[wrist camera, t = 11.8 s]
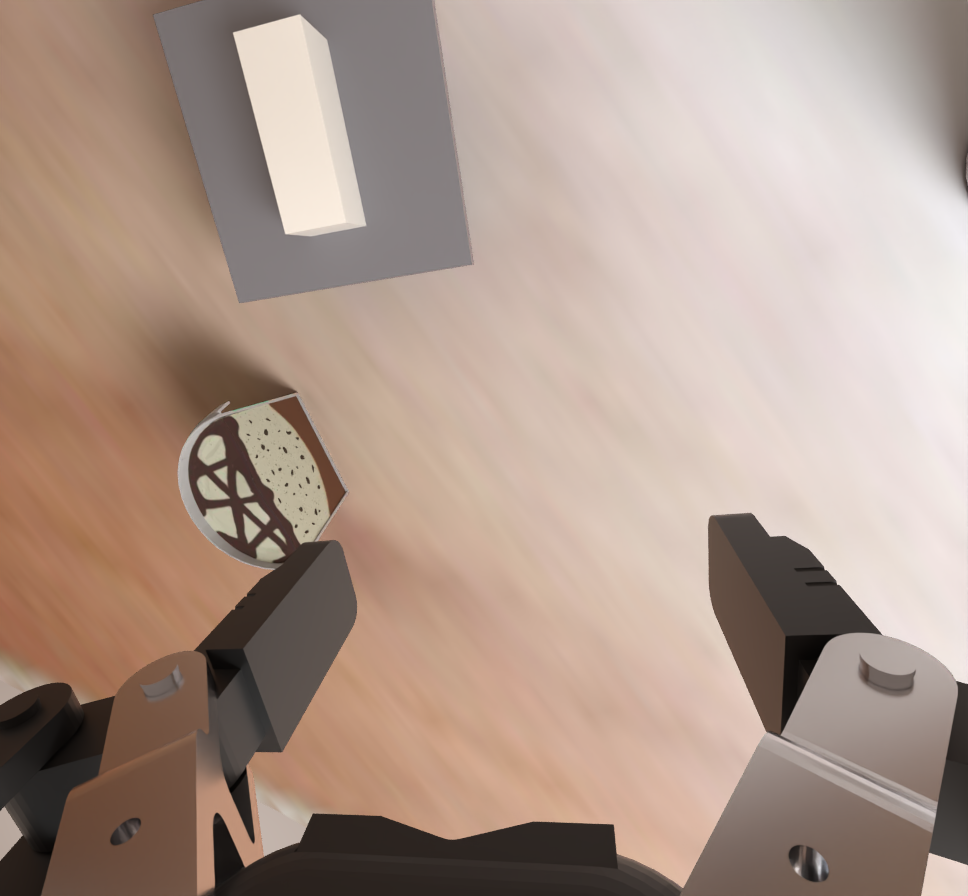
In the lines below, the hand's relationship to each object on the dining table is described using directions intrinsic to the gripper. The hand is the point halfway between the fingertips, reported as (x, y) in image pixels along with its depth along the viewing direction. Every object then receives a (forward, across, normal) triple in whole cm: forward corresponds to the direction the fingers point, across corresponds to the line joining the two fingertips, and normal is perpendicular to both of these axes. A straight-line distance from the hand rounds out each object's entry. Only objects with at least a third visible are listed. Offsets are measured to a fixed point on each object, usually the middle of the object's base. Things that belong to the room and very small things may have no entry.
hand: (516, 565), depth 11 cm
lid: (+22, +11, -14) cm, 28 cm away
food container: (+28, +22, +6) cm, 36 cm away
